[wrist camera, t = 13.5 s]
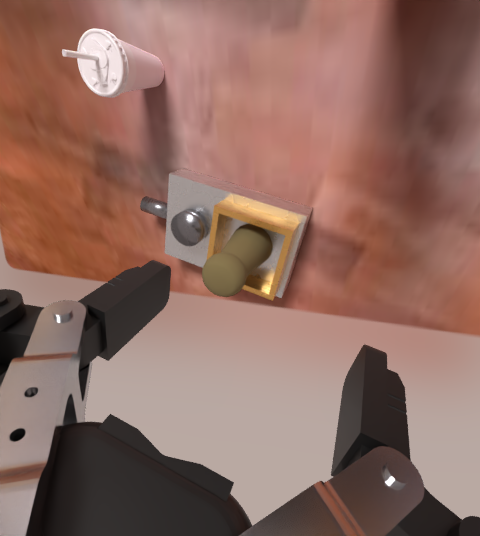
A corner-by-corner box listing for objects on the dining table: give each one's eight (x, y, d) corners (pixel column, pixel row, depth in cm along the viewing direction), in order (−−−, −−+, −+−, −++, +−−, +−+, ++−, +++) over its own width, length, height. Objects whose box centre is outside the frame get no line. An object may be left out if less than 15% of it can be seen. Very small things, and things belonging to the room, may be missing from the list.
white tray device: (155, 159, 48) (125, 167, 42) (312, 207, 42) (301, 224, 36) (153, 234, 55) (126, 250, 49) (288, 285, 49) (275, 309, 43)
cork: (224, 243, 45) (184, 278, 36) (248, 214, 41) (211, 245, 32) (254, 271, 45) (223, 314, 36) (281, 245, 42) (254, 285, 33)
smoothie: (166, 36, 39) (78, 10, 28) (177, 94, 42) (100, 91, 31) (127, 48, 42) (31, 27, 30) (140, 101, 44) (56, 101, 33)
